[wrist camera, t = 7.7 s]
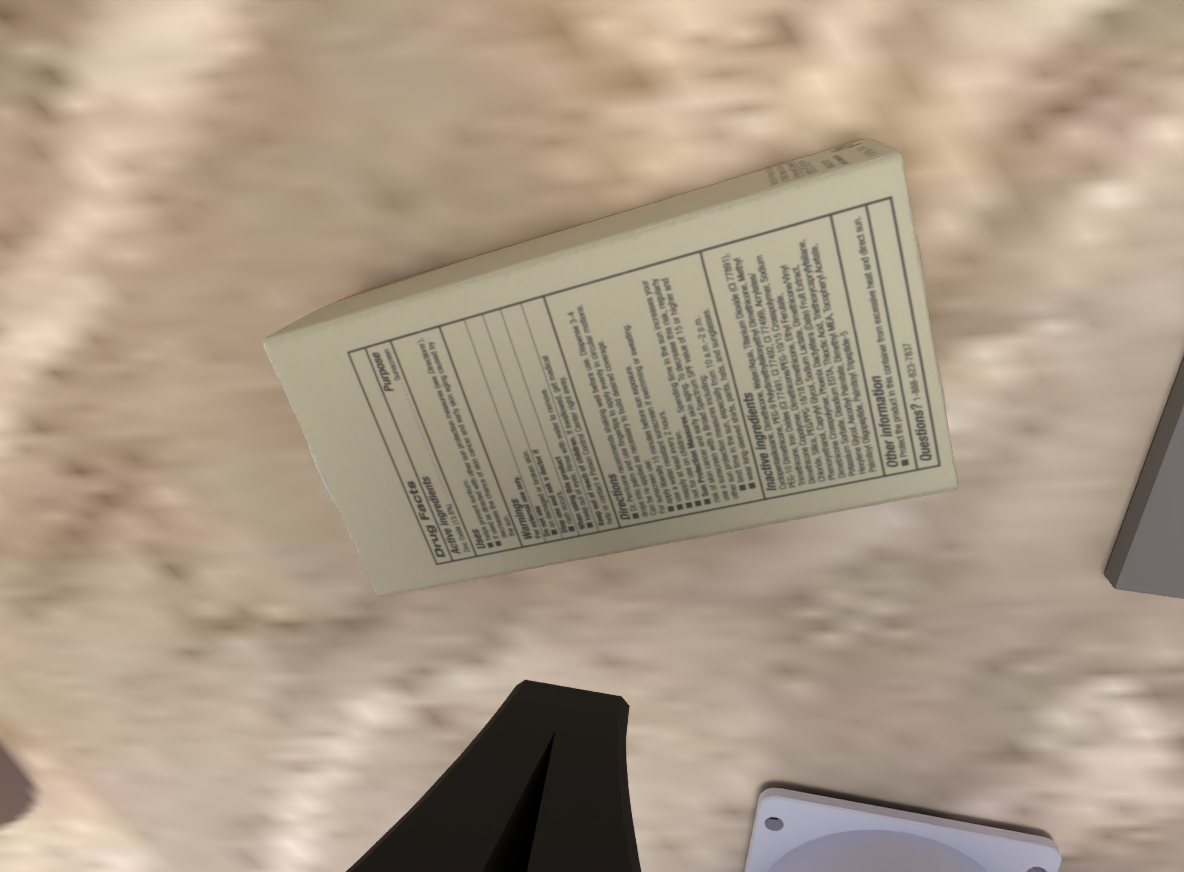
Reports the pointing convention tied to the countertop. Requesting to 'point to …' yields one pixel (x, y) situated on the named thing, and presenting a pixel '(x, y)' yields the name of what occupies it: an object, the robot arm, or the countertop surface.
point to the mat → (1156, 513)
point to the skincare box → (632, 379)
